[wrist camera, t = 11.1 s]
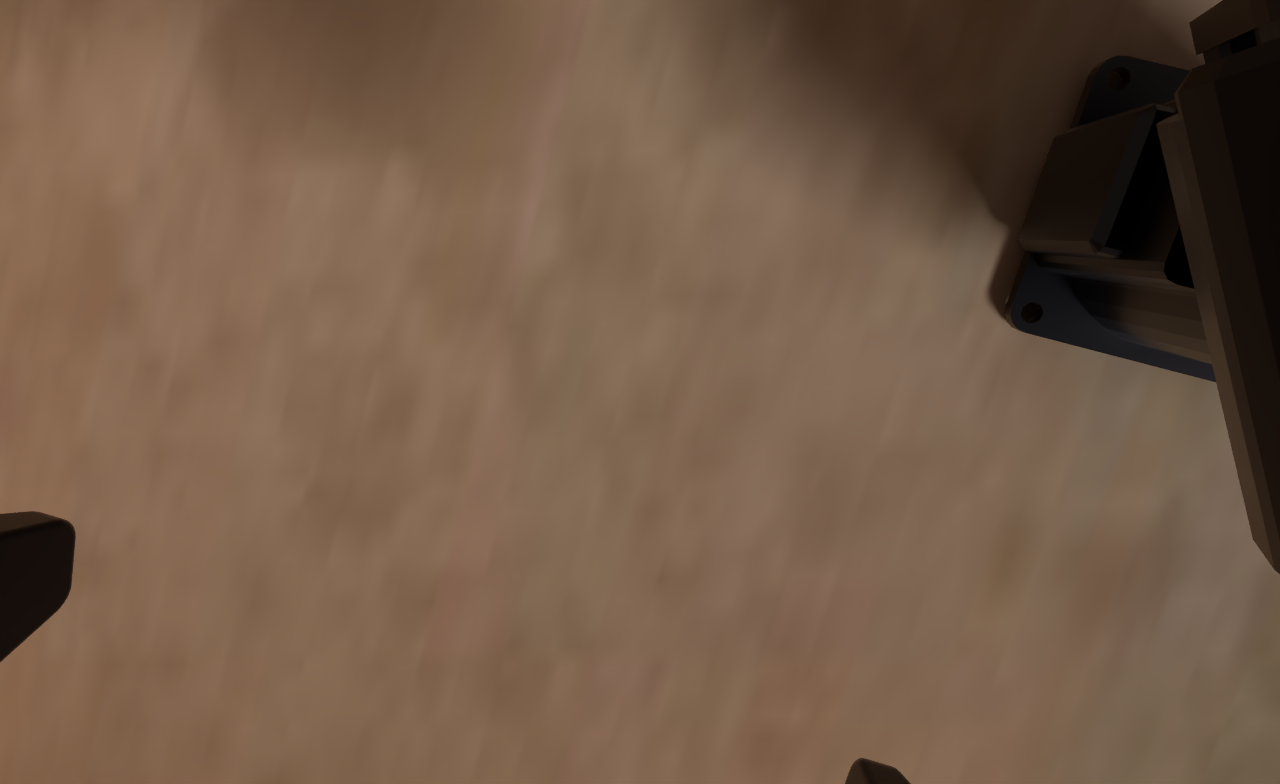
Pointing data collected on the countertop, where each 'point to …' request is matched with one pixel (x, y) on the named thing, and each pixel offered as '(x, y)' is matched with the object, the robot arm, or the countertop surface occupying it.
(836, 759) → the countertop surface
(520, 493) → the countertop surface
